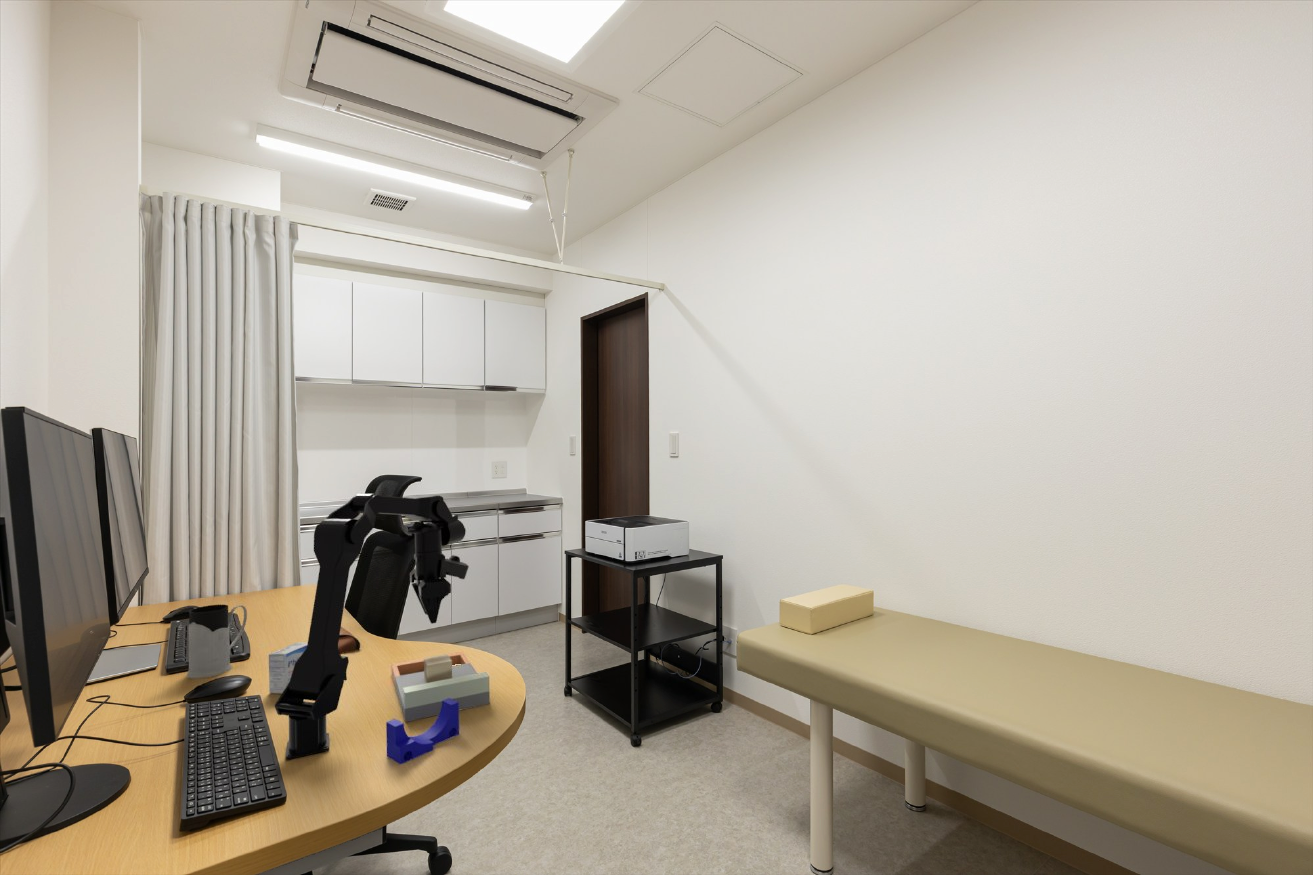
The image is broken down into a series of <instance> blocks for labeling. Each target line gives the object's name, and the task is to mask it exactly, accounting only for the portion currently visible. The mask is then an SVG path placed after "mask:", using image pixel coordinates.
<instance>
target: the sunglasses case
mask: <svg viewBox="0 0 1313 875" xmlns="http://www.w3.org/2000/svg"><path fill="white" fill-rule="evenodd" d="M360 648H361V642H360V641H359V639H358V638H356V637H355V636H354V635H353V634H352V633H351V632H350V631H349V630H347V629H345V628H344V627H343V626H341V629H340V636H339V642H338V649H339V652H340V654H344V653H348V652H349V653H350V652H354V651H359V650H360Z"/></svg>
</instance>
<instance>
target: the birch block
mask: <svg viewBox="0 0 1313 875" xmlns="http://www.w3.org/2000/svg"><path fill="white" fill-rule="evenodd" d="M448 654H449V653H447V654H441V655H435V656H430V657H424V678H425V680H426V682H427V683H430V682H435V681H440V680H446V679H451V678H452V660H451V659H450V657H449V655H448Z"/></svg>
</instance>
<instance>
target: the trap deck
mask: <svg viewBox="0 0 1313 875" xmlns="http://www.w3.org/2000/svg"><path fill="white" fill-rule="evenodd" d="M447 654H448V655H449V657H450V659H451V660H452V665H455V664H461V665H456V666H452V678H451V679H446V680H440V681H435V682H430V683H427V682H426V680H425V678H424V658H425V657H424V658H418V659H417V658H416V659H413V660H407V661H402V662H395V663H394V662H393V663H391V667H390V668H391V671H390V672H391V677H392V681H393V685H394V688H395V691H396V695H397V699H398V702H399V706H400V709H401V713H402V716H403V719H404V720H403V721H404V723H406V722H407V723H408V722H413V721H417V720H420V719H425V718H426V719H427V718H429V717H434V716H439V714H440V711H441V707H442V701H443V700H445V699H448V698H451V699H453V700H455V701H457V702H459V711H462V710H466V709H471V708H476V707H480V706H485V705H490V704H491V701H490V700H491V696H490V694H491V693H490V675H489V673H487V671H483V672H482V671H481V672H477V671H476V669H475V668H474V666H473V665H472V664H471V662H470V661H469V659H468V657H467V656H466V655H465V653H464V651H458V652H453V653H447Z"/></svg>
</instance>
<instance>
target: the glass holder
mask: <svg viewBox="0 0 1313 875" xmlns="http://www.w3.org/2000/svg"><path fill="white" fill-rule="evenodd" d="M238 607H240V608H242V611H243V621H242V626H241V627H240V630H239V632H238V634H237V635H236V637H235V639H234V640H233V641H232V642H231V644H230V626H231V625H232V622H233V614H234V612H235V610H236V609H237V608H238ZM247 611H248V610H247V608H246V606H244V605H240V604H239V605H235V606H234V607H232V608H231V610H230V611H229V605H228V604H210V605H209V604H208V605H204V606H198V607H195V608H192V609H190V610H189V613H188V614H189V615H188V616H189V624H188V672H187V674H186V677H187V679H205V678H211V677H214V676H218V675H222V674H225V673H226V672H229V671H230V670H232V668H233V666H232V664H231V659H230V657H231V655H230V651H231V650H232V648H233V646H235V645H236V643H237V641H238V640H239V639H240V637H241V636H242V634H243V633H244V630H245V627H246V623H247V619H248V618H247V617H248V612H247Z"/></svg>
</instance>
